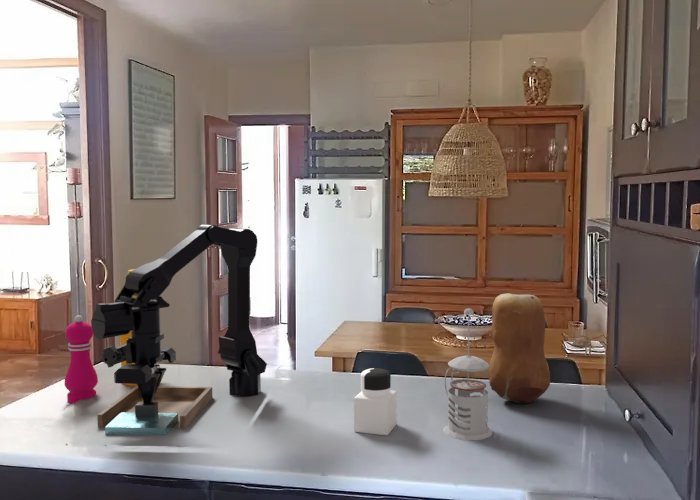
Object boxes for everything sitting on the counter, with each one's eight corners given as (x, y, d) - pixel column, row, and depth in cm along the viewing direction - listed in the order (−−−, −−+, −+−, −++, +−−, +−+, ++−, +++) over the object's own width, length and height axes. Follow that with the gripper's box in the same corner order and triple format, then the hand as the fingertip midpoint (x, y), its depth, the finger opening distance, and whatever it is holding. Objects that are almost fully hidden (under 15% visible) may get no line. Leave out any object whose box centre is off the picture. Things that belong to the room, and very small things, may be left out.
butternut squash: (522, 389, 161) (524, 287, 159) (562, 405, 149) (564, 295, 147) (475, 397, 155) (476, 291, 153) (512, 414, 143) (514, 299, 141)
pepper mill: (86, 405, 150) (83, 318, 149) (58, 403, 152) (54, 317, 150) (104, 395, 158) (101, 312, 156) (77, 394, 159) (74, 311, 157)
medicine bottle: (397, 424, 137) (397, 367, 136) (387, 436, 131) (387, 376, 130) (364, 420, 140) (364, 364, 139) (353, 432, 133) (353, 373, 132)
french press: (462, 443, 126) (464, 314, 124) (428, 425, 137) (428, 305, 135) (502, 434, 131) (504, 309, 129) (466, 417, 141) (467, 301, 139)
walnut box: (212, 401, 153) (212, 386, 152) (185, 433, 133) (184, 416, 132) (136, 400, 154) (135, 385, 154) (97, 431, 134) (97, 414, 134)
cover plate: (178, 420, 137) (177, 401, 137) (165, 435, 129) (164, 415, 129) (121, 419, 138) (120, 400, 137) (105, 434, 130) (104, 414, 129)
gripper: (126, 321, 146) (128, 390, 147) (86, 340, 127) (89, 419, 129) (175, 322, 145) (177, 391, 146) (143, 341, 126) (145, 421, 128)
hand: (148, 405), depth 137 cm, fingers closed
